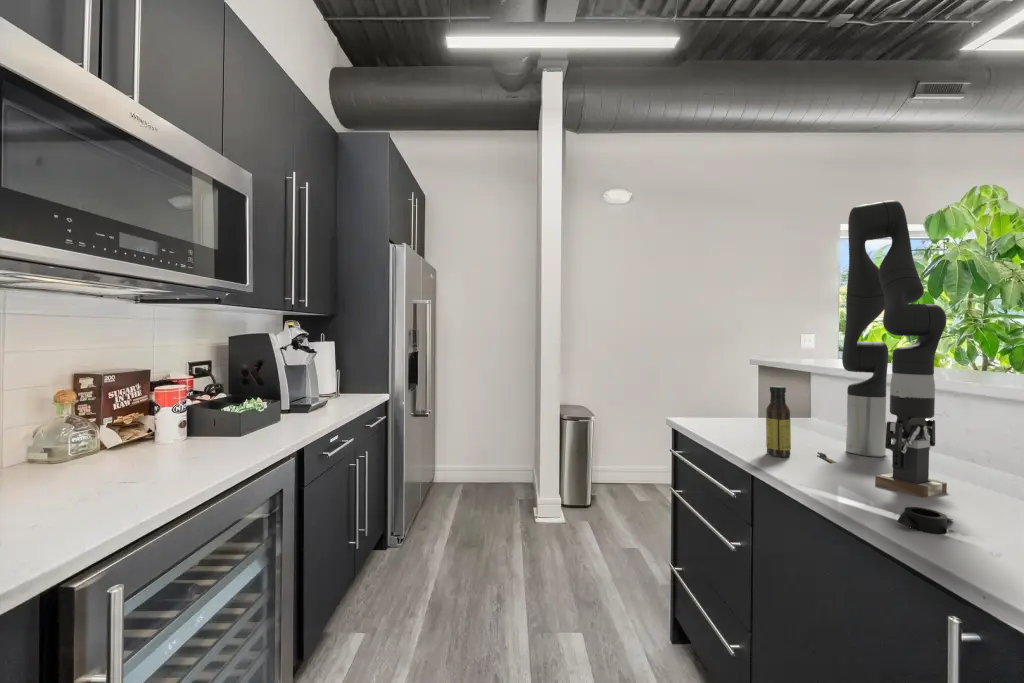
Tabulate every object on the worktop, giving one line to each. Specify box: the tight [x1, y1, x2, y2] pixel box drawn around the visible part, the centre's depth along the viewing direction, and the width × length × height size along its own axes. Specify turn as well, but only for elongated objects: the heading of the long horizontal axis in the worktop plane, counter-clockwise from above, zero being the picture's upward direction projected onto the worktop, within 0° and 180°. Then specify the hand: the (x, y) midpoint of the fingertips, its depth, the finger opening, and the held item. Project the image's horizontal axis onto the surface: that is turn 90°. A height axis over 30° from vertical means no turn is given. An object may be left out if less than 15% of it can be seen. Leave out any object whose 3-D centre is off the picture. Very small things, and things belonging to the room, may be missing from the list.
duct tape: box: [896, 506, 954, 535], centre depth 85 cm, size 8×10×3 cm
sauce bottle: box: [765, 385, 792, 458], centre depth 136 cm, size 6×6×20 cm
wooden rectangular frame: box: [874, 472, 948, 498], centre depth 104 cm, size 9×9×3 cm
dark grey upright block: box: [892, 439, 930, 484], centre depth 104 cm, size 5×5×11 cm
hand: (910, 467), depth 104 cm, fingers open, 8 cm apart
